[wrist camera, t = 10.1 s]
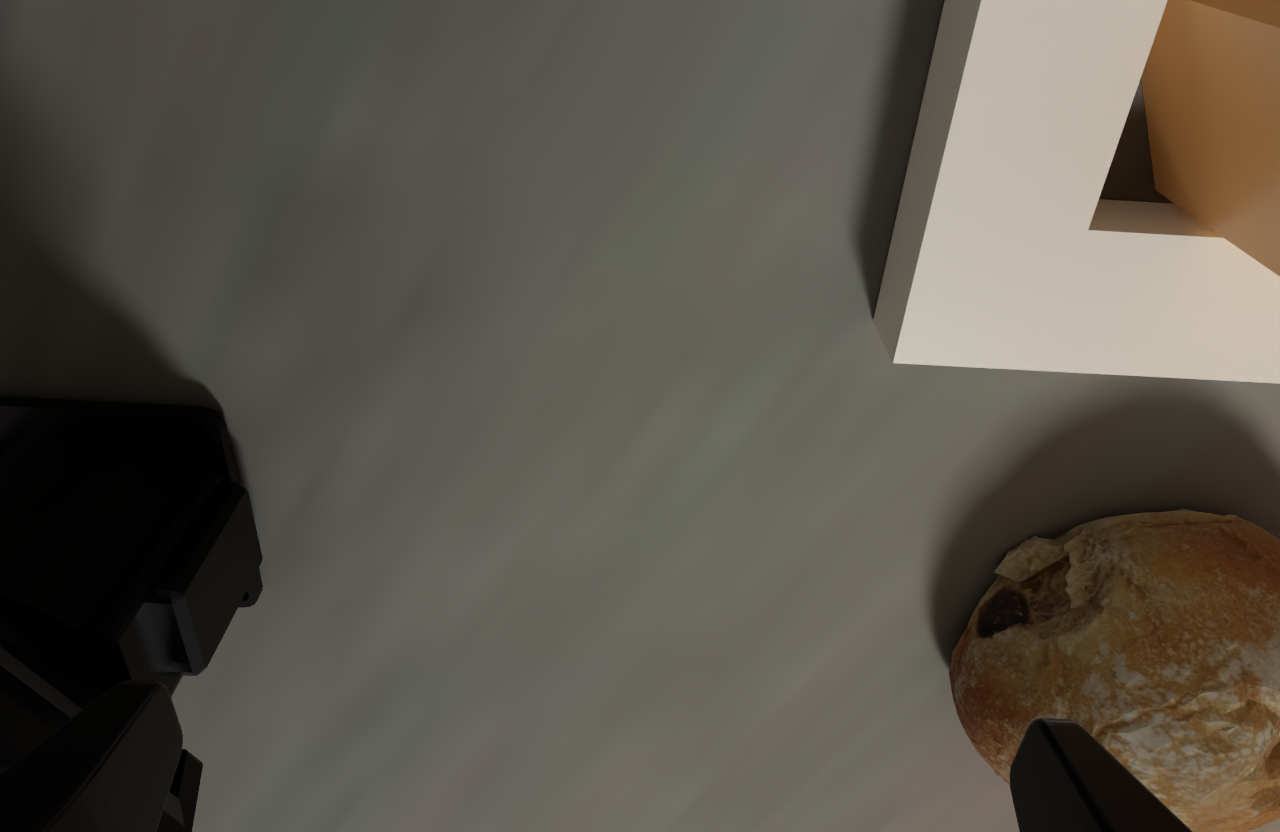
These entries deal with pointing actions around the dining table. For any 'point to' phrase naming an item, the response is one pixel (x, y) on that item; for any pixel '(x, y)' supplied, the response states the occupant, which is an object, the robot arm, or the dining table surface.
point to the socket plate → (1057, 214)
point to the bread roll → (1139, 657)
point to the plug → (1219, 118)
